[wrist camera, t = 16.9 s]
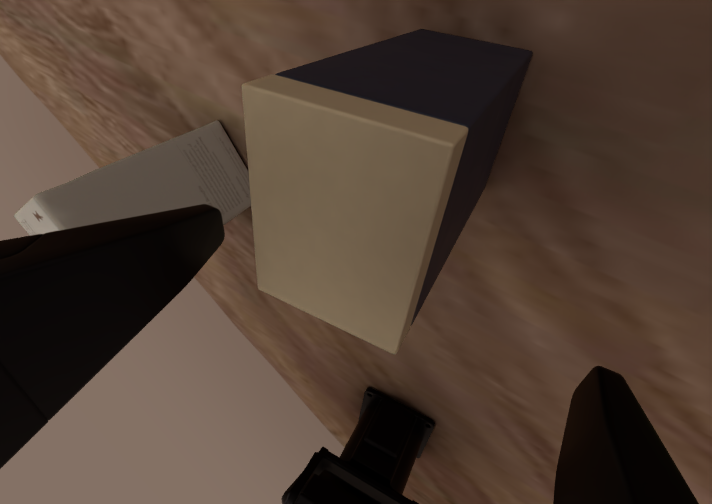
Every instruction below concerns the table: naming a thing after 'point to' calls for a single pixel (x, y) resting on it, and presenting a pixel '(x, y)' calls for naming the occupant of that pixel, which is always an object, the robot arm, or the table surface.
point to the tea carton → (373, 173)
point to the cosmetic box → (148, 185)
